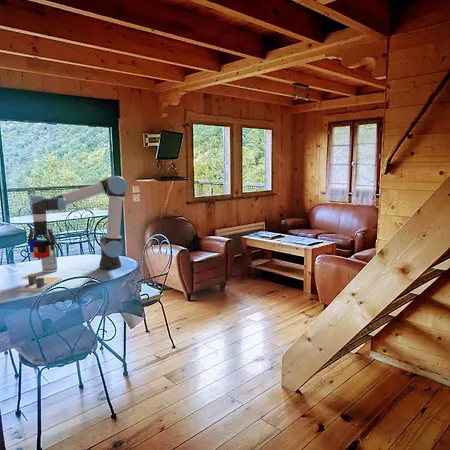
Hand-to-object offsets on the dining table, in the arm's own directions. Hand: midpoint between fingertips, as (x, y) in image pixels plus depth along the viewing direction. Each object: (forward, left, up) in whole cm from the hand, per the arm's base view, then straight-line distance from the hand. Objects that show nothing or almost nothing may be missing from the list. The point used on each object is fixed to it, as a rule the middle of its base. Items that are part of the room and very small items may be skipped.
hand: (42, 255), depth 241 cm
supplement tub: (+9, -21, -16) cm, 28 cm away
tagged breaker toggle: (-1, +15, -14) cm, 20 cm away
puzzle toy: (0, 0, -1) cm, 1 cm away
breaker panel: (-5, +12, -16) cm, 21 cm away
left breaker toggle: (-9, +20, -14) cm, 26 cm away
